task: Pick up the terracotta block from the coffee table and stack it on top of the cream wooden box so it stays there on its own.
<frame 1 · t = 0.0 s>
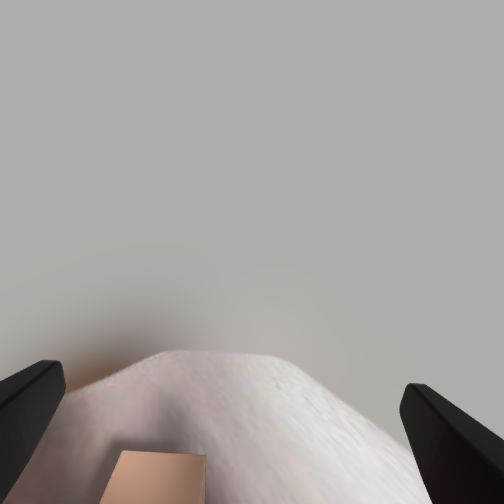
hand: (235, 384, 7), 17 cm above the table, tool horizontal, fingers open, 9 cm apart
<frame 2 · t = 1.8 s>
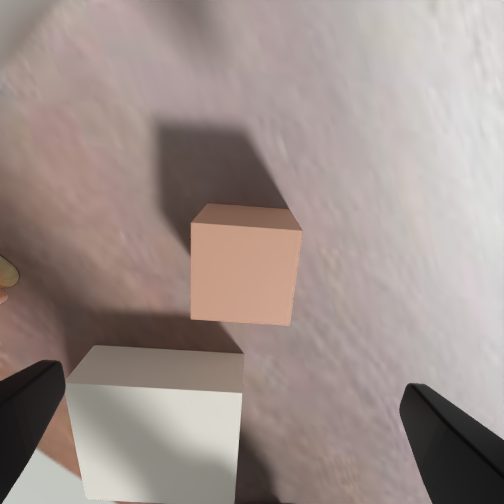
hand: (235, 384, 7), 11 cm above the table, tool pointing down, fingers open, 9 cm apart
terracotta block: (245, 244, 18), on the table
cream box: (172, 402, 23), on the table
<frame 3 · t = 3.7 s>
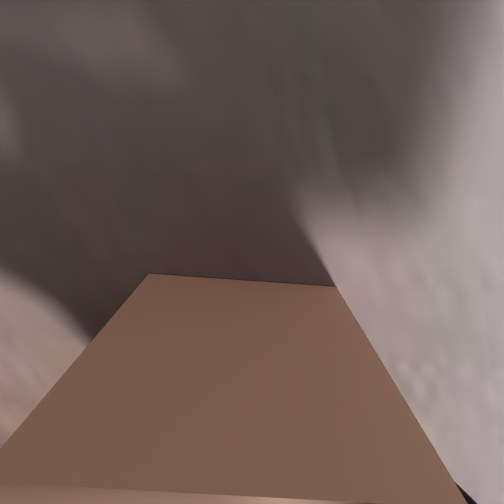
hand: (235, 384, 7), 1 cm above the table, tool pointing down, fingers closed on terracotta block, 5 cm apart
terracotta block: (237, 356, 8), on the table, touching gripper
when the fingers open (6 cm above the table, at t = 7.9 s): terracotta block drops 2 cm, point 4 cm above the table.
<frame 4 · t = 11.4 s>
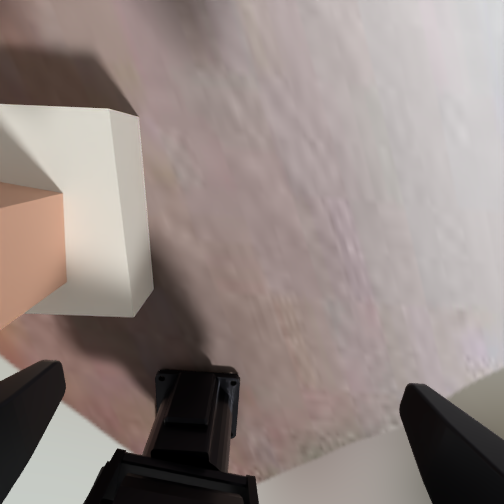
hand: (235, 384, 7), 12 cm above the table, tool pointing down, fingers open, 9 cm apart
terracotta block: (16, 231, 15), point 4 cm above the table
cream box: (64, 207, 18), on the table
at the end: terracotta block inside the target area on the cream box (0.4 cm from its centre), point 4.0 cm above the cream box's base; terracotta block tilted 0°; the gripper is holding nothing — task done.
